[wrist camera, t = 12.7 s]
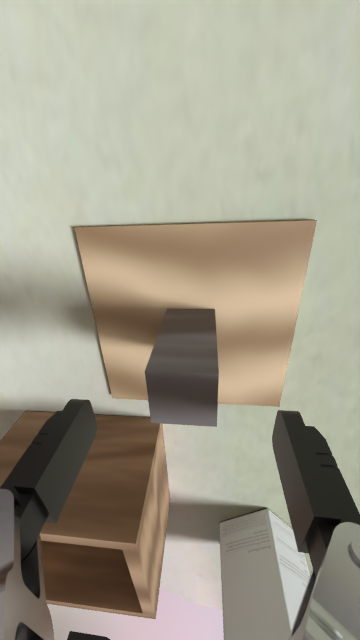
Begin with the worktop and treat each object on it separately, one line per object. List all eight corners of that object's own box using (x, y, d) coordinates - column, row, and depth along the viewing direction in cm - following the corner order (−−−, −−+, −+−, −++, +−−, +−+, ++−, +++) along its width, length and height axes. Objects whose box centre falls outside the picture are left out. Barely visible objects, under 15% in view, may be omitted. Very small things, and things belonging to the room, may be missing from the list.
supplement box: (217, 521, 31) (222, 704, 20) (268, 506, 29) (307, 707, 17) (250, 546, 33) (271, 724, 22) (300, 534, 31) (354, 730, 20)
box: (25, 410, 25) (-67, 521, 17) (161, 418, 23) (135, 543, 15) (61, 489, 31) (8, 598, 23) (170, 499, 30) (155, 618, 21)
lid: (81, 225, 16) (-14, 250, 9) (310, 218, 15) (402, 242, 8) (115, 390, 23) (75, 477, 16) (276, 397, 22) (309, 497, 14)
